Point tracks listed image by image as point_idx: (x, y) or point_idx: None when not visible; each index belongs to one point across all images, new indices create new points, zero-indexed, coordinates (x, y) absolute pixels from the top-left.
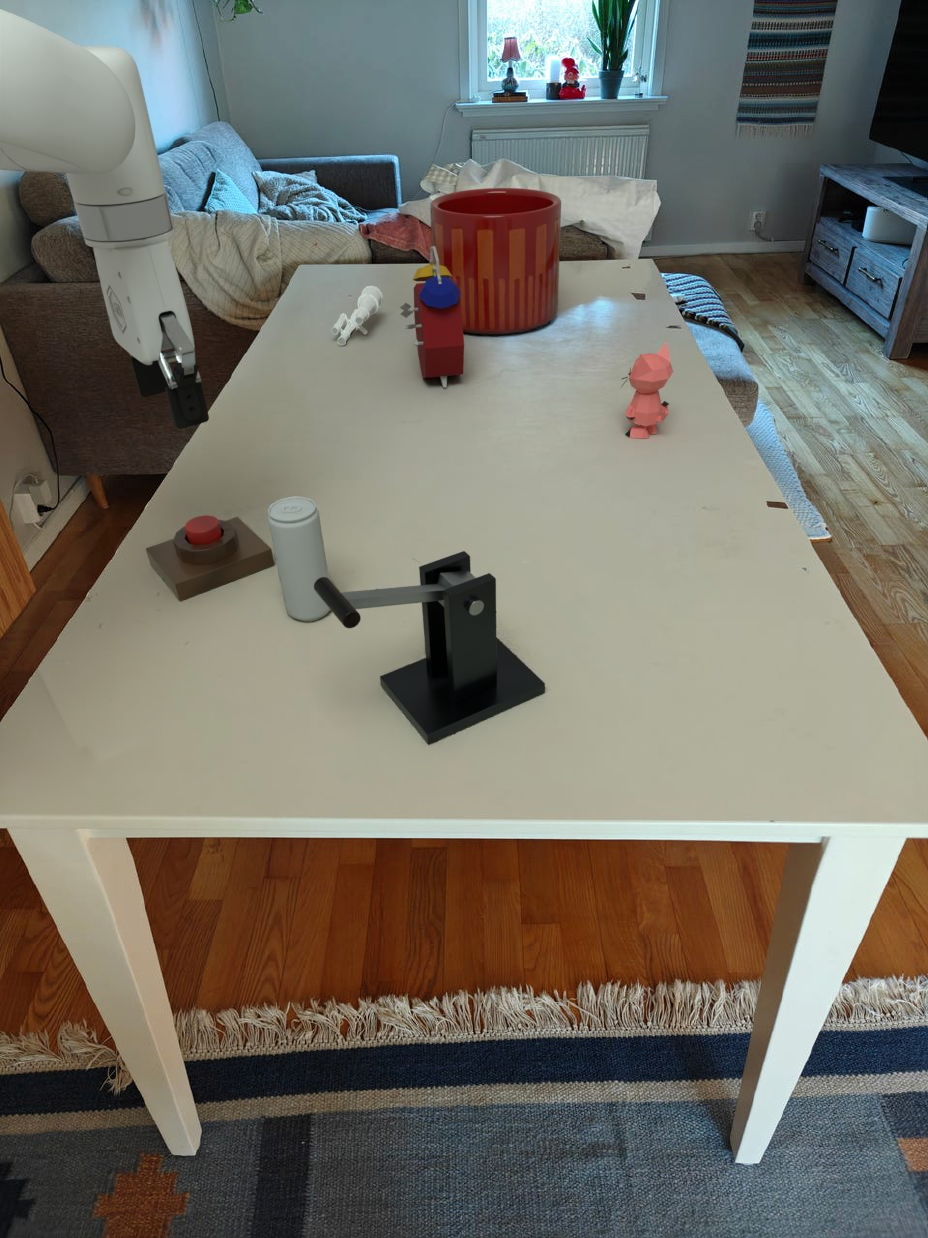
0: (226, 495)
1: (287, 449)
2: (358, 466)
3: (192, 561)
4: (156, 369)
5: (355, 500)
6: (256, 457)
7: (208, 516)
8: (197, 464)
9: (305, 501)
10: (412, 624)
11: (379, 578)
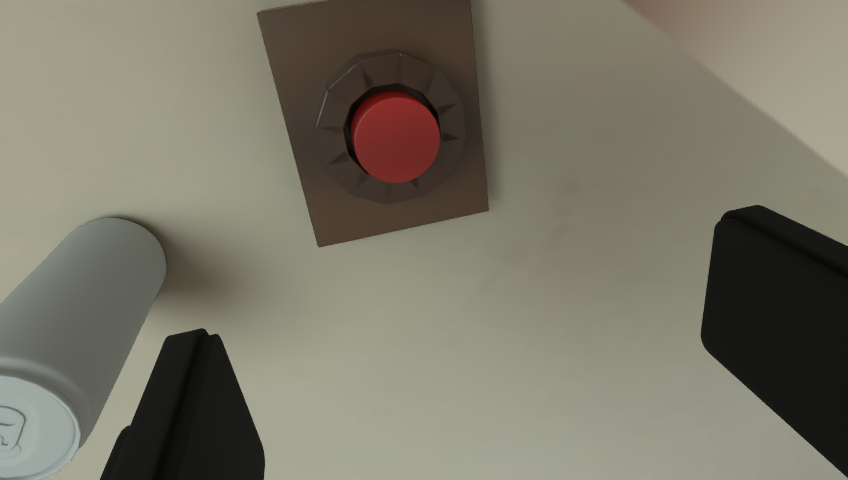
0: (635, 199)
1: None
2: (577, 420)
3: (331, 77)
4: (805, 382)
5: (470, 396)
6: None
7: (424, 164)
8: (791, 171)
9: (41, 463)
10: None
11: None
